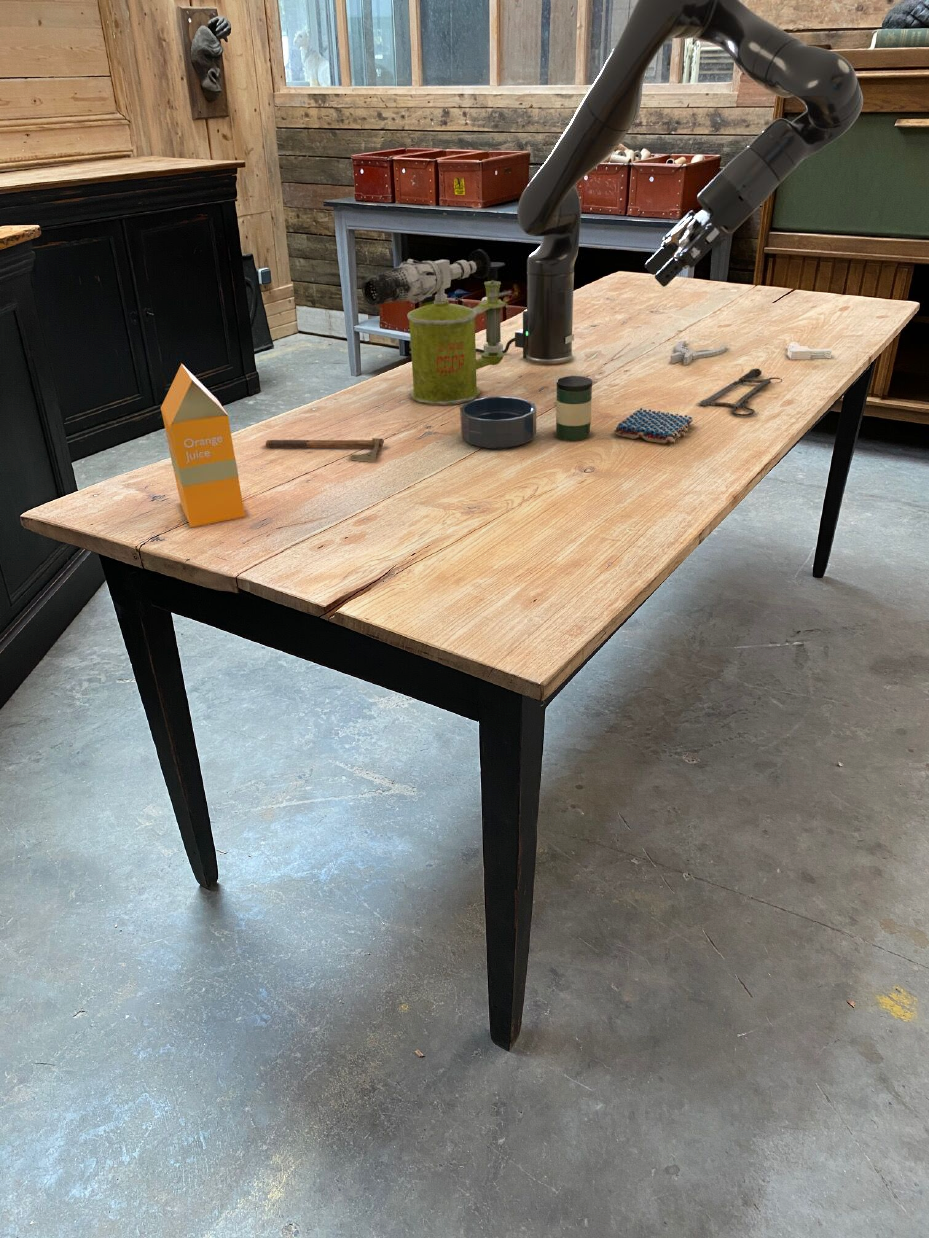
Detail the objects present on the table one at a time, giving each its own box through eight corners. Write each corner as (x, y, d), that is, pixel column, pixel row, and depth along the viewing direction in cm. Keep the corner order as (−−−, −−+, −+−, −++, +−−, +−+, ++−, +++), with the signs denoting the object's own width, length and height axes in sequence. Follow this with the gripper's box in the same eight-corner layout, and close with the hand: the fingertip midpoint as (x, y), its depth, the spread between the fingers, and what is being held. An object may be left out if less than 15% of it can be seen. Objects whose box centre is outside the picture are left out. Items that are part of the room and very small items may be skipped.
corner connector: (823, 348, 193) (824, 340, 192) (832, 359, 186) (833, 351, 186) (783, 348, 194) (784, 340, 193) (790, 359, 187) (792, 351, 186)
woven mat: (696, 427, 156) (697, 415, 155) (672, 447, 148) (673, 435, 147) (637, 417, 161) (638, 406, 160) (611, 436, 153) (611, 424, 152)
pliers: (728, 341, 195) (702, 359, 184) (727, 348, 195) (701, 367, 185) (683, 336, 199) (655, 353, 189) (682, 343, 200) (654, 361, 189)
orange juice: (189, 527, 128) (160, 383, 118) (179, 504, 135) (151, 366, 125) (246, 516, 131) (222, 374, 121) (233, 494, 138) (210, 358, 128)
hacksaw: (752, 374, 180) (753, 366, 179) (804, 382, 174) (806, 374, 173) (692, 407, 164) (693, 399, 163) (748, 418, 158) (749, 410, 158)
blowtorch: (528, 379, 182) (528, 242, 169) (406, 424, 161) (395, 273, 149) (478, 368, 189) (474, 236, 177) (356, 410, 169) (342, 264, 156)
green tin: (548, 436, 154) (549, 382, 150) (568, 426, 158) (569, 373, 153) (578, 443, 151) (579, 388, 146) (597, 433, 155) (599, 379, 150)
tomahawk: (256, 464, 150) (255, 457, 149) (269, 443, 156) (268, 436, 155) (376, 465, 147) (375, 458, 147) (384, 444, 153) (383, 437, 152)
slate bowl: (446, 441, 154) (445, 411, 151) (492, 420, 162) (491, 392, 159) (505, 456, 147) (505, 425, 145) (550, 434, 155) (550, 404, 153)
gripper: (710, 166, 141) (629, 250, 147) (734, 177, 128) (645, 268, 134) (741, 203, 143) (660, 284, 149) (768, 217, 131) (679, 304, 137)
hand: (653, 276), depth 142 cm, fingers open, 8 cm apart
